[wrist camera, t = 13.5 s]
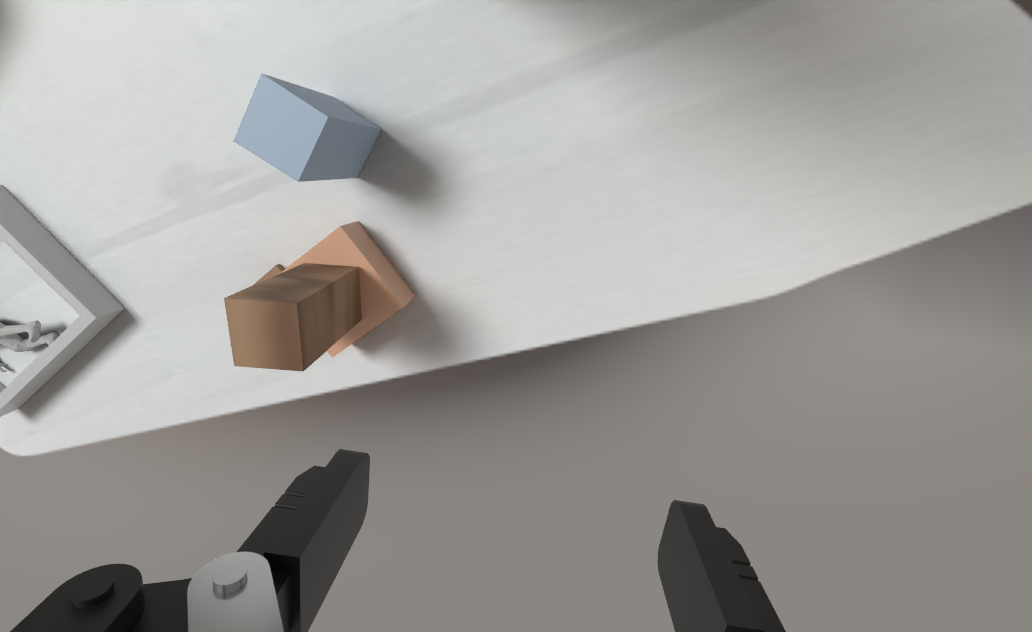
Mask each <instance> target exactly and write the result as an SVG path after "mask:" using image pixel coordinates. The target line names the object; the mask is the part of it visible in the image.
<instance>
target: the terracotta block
mask: <svg viewBox="0 0 1032 632" xmlns="http://www.w3.org/2000/svg"><path fill="white" fill-rule="evenodd" d="M303 263H311V264H326V265H341V266H355V267H359V278H360V296H361V314H362V320H361V321H360V322H359V323H357V324H356V325H355V326H354V327H353V328H352V329H351V330H350V331H348V332H347V333H346V334H345V335H344V336H343V337H342V338H340V339H339V340H338V341H337V342H336V343H335V344H334V345H333V346H331V347H330V348H329V349H328V350H327V352H328V353H329V354H330V355H331V357H334V356H335V355H337V354H338V353H339V352H341V351H342V350H344V349H345V348H347V347H348V346H349V345H351V344H352V343H354V342H355V341H357V340H358V339H359V338H361V337H362V336H364V335H365V334H367V333H368V332H369V331H371V330H372V329H374V328H375V327H377V326H378V325H379V324H381V323H382V322H384V321H385V320H387V319H388V318H389V317H391V316H392V315H394V314H395V313H397V312H398V311H399V310H401V309H402V308H404V307H405V306H406V305H407V304H408V303H409V302H410V301H411V300H412V299H413V298H414V297H415V294H414V293H413V292H412V291H411V289H410V288H409V287H408V285H407V284H406V283H405V282H404V280H403V279H402V278H401V276H400V275H399V274H398V272H397V271H396V270H395V269H394V267H393V266H392V265H391V263H390V262H389V261H388V259H387V258H386V257H385V256H384V254H383V253H382V252H381V250H380V249H379V248H378V247H377V245H376V244H375V243H374V241H373V240H372V239H371V237H370V236H369V235H368V234H367V232H366V231H365V230H364V228H363V227H362V226H361V224H360V223H359V222H358V221H357V222H353V223H350V224H346V225H343V226H340V227H339V228H337V229H336V230H335V231H334V232H332V233H331V234H330V235H328V236H327V237H326V238H325V239H323V240H322V241H321V242H319V243H318V244H317V245H316V246H314V247H313V248H312V249H310V250H309V251H308V252H307V253H305V254H304V255H303V256H301V257H300V258H299V259H298V260H296V261H295V262H294V263H292V264H291V265H290V266H289V267H287V268H286V269H285V270H284V271H282V272H281V273H283V272H285V271H287V270H289V269H292V268H294V267H296V266H298V265H301V264H303Z"/></svg>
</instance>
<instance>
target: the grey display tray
mask: <svg viewBox="0 0 1032 632" xmlns="http://www.w3.org/2000/svg"><path fill="white" fill-rule="evenodd" d="M0 238H1V239H2V240H3V241H4V242H5V243H6V244H7V245H8V246H9V247H10V248H11V249H12V250H13V251H14V252H15V253H16V254H17V255H18V256H19V257H21V258H22V259H23V260H24V261H25V262H26V263H27V264H28V265H29V266H30V267H31V268H32V269H33V270H34V271H35V272H36V273H37V274H38V275H39V276H40V277H41V278H42V279H43V280H44V281H45V282H46V283H47V284H48V285H49V286H50V287H51V288H52V289H54V290H55V291H56V292H57V293H58V294H59V295H60V296H61V297H62V298H63V299H64V300H65V301H66V302H67V303H68V304H69V305H70V306H71V307H72V308H73V309H74V310H75V311H76V312H77V313H78V314H79V315H80V316H79V317H78V318H77V319H76V320H75V321H74V322H73V323H72V324H71V325H70V326H69V327H68V328H67V329H66V330H65V331H64V332H63V333H62V334H61V335H60V336H59V337H58V338H57V339H56V340H55V341H54V342H53V343H52V344H51V345H50V346H48V347H47V348H46V349H45V350H44V351H43V352H42V353H41V354H40V355H39V356H38V357H37V358H36V359H35V360H34V361H33V362H32V363H31V364H30V365H29V366H28V367H27V368H26V369H25V370H24V371H23V372H22V373H21V374H20V375H19V376H17V377H16V378H15V379H14V380H13V381H12V382H11V383H10V384H9V385H8V386H7V387H6V388H5V387H4V386H3V385H2V384H1V383H0V417H1V416H3V415H5V414H8V413H10V412H12V411H14V410H16V409H18V408H19V407H20V406H21V405H22V404H24V403H25V402H26V401H27V400H28V399H29V398H30V397H31V396H32V395H33V394H34V393H35V392H36V391H37V390H38V389H39V388H41V387H42V386H43V385H44V384H45V383H46V382H47V381H48V380H49V379H50V378H51V377H52V376H53V375H54V374H55V373H57V372H58V371H59V370H60V369H61V368H62V367H63V366H64V365H65V364H66V363H67V362H68V361H69V360H70V359H71V358H72V357H74V356H75V355H76V354H77V353H78V352H79V351H80V350H81V349H82V348H83V347H84V346H85V345H86V344H87V343H88V342H89V341H91V340H92V339H93V338H94V337H95V336H96V335H97V334H98V333H99V332H100V331H101V330H102V329H103V328H104V327H105V326H107V325H108V324H109V323H110V322H111V321H112V320H113V319H114V318H115V317H116V316H117V315H118V314H119V313H120V312H121V311H122V310H124V309H125V308H124V307H123V306H122V305H121V304H120V303H119V302H118V301H117V300H116V299H115V298H114V297H113V296H112V295H111V294H110V293H109V292H108V291H107V290H106V289H105V288H104V287H103V286H102V285H101V284H100V283H99V282H98V281H97V280H96V279H95V278H94V277H93V276H92V275H91V274H90V273H89V272H88V271H87V270H86V269H85V268H84V267H83V266H82V265H81V264H80V263H79V262H78V261H77V260H76V259H75V258H74V257H73V256H72V255H71V254H70V253H69V252H68V251H67V250H66V249H65V248H64V247H63V246H62V245H61V244H60V243H59V242H58V241H57V240H56V239H55V238H54V237H53V236H52V235H51V234H50V233H49V232H48V231H47V230H46V229H45V228H44V227H43V226H42V225H41V224H40V223H39V222H38V221H37V220H36V219H35V218H34V217H33V216H32V215H31V214H30V213H29V212H28V211H27V210H26V209H25V208H24V207H23V206H22V205H21V204H20V203H19V202H18V201H17V200H16V199H15V198H14V197H13V196H12V195H11V194H10V193H9V192H8V191H7V190H6V189H5V188H4V187H3V186H2V185H0Z"/></svg>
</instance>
